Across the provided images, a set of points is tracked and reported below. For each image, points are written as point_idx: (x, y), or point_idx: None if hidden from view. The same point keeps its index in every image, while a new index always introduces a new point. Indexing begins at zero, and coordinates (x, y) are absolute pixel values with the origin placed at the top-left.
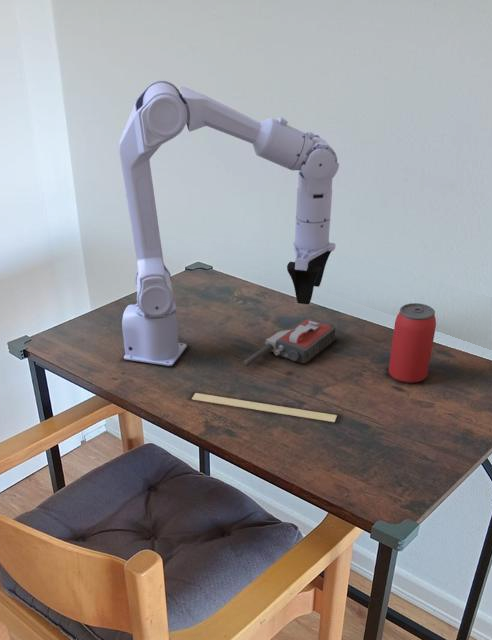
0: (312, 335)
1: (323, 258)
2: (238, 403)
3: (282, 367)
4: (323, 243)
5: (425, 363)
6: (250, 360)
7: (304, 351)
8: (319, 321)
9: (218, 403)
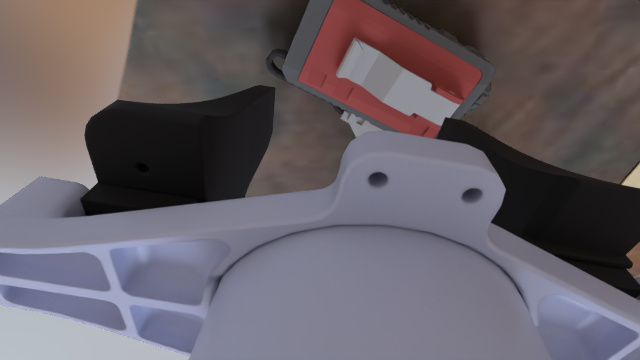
0: (408, 55)
1: (229, 138)
2: (636, 185)
3: (486, 111)
4: (526, 320)
5: None
6: None
7: (493, 70)
8: (304, 38)
9: None
